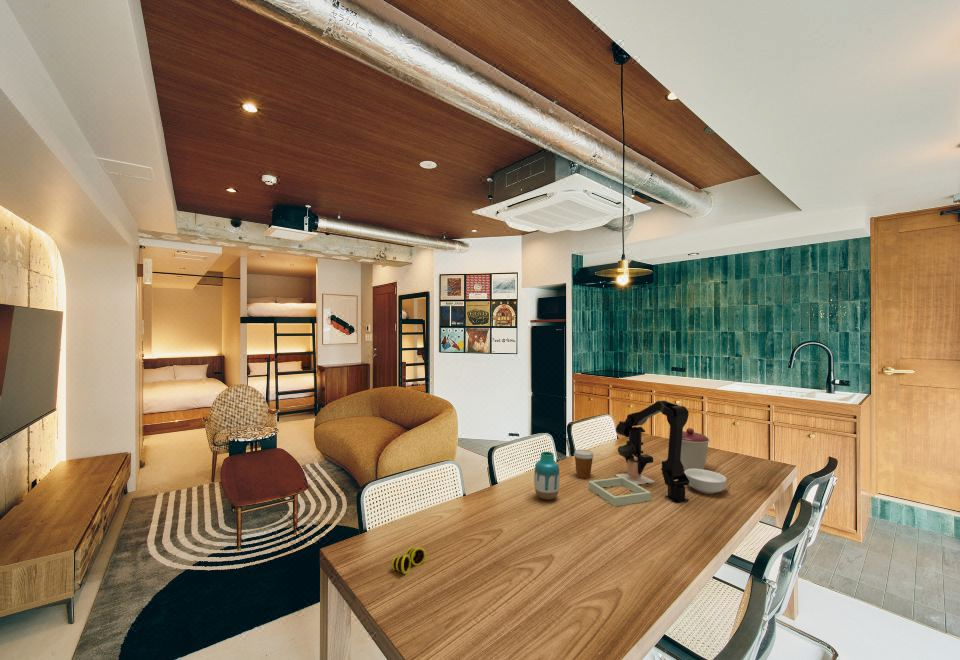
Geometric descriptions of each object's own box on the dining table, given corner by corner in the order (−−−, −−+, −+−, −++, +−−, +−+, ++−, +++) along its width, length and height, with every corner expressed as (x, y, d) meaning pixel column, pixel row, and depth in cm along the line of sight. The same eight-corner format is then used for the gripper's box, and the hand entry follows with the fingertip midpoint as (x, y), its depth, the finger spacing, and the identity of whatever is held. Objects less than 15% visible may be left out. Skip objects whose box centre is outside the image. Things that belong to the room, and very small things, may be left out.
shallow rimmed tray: (650, 500, 168) (651, 492, 168) (614, 506, 163) (614, 497, 163) (622, 484, 186) (622, 476, 186) (588, 488, 180) (588, 481, 180)
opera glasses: (415, 559, 126) (413, 542, 126) (427, 562, 123) (425, 545, 123) (391, 574, 118) (389, 556, 119) (403, 577, 115) (401, 559, 116)
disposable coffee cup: (589, 481, 189) (589, 456, 188) (570, 477, 194) (570, 452, 194) (596, 476, 196) (596, 451, 196) (578, 471, 202) (578, 447, 202)
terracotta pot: (644, 476, 190) (644, 461, 190) (633, 478, 188) (633, 463, 188) (635, 472, 196) (635, 457, 196) (624, 473, 194) (624, 458, 194)
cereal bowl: (723, 501, 169) (724, 485, 169) (680, 491, 179) (681, 475, 179) (728, 489, 182) (728, 473, 182) (687, 480, 192) (688, 465, 192)
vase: (530, 500, 168) (531, 454, 168) (538, 491, 177) (539, 448, 177) (554, 505, 163) (555, 458, 163) (562, 496, 172) (562, 451, 172)
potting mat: (655, 482, 188) (655, 481, 188) (632, 485, 184) (632, 484, 184) (636, 473, 201) (636, 472, 201) (614, 475, 197) (614, 474, 197)
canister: (673, 472, 202) (674, 431, 202) (667, 461, 219) (668, 423, 219) (713, 476, 197) (714, 434, 197) (704, 464, 214) (705, 425, 214)
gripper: (608, 435, 199) (608, 467, 199) (634, 446, 181) (633, 480, 181) (627, 434, 202) (627, 464, 202) (654, 444, 184) (653, 478, 185)
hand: (634, 471), depth 192 cm, fingers closed on terracotta pot, 6 cm apart
